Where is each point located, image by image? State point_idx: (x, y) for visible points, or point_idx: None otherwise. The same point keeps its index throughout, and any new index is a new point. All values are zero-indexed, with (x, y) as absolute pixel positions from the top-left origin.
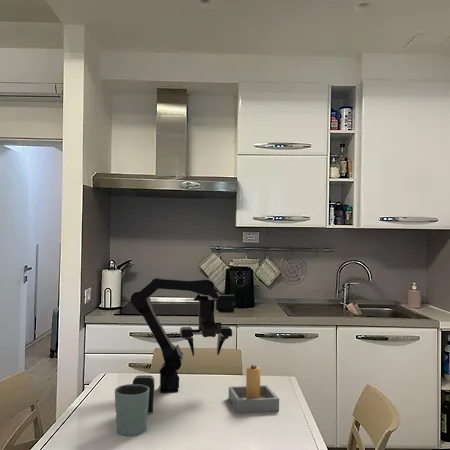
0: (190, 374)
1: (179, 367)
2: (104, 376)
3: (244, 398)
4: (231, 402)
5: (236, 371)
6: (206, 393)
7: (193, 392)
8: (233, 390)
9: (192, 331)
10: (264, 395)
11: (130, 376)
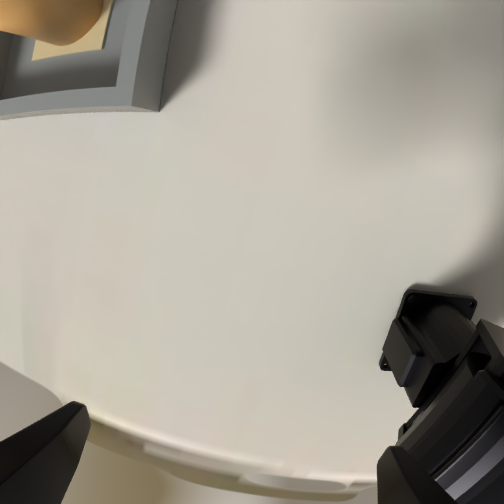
0: (253, 465)
1: (470, 361)
2: None
3: (93, 44)
4: (169, 36)
5: None
6: (261, 225)
7: (330, 263)
8: (129, 30)
9: None
10: (5, 94)
11: None
